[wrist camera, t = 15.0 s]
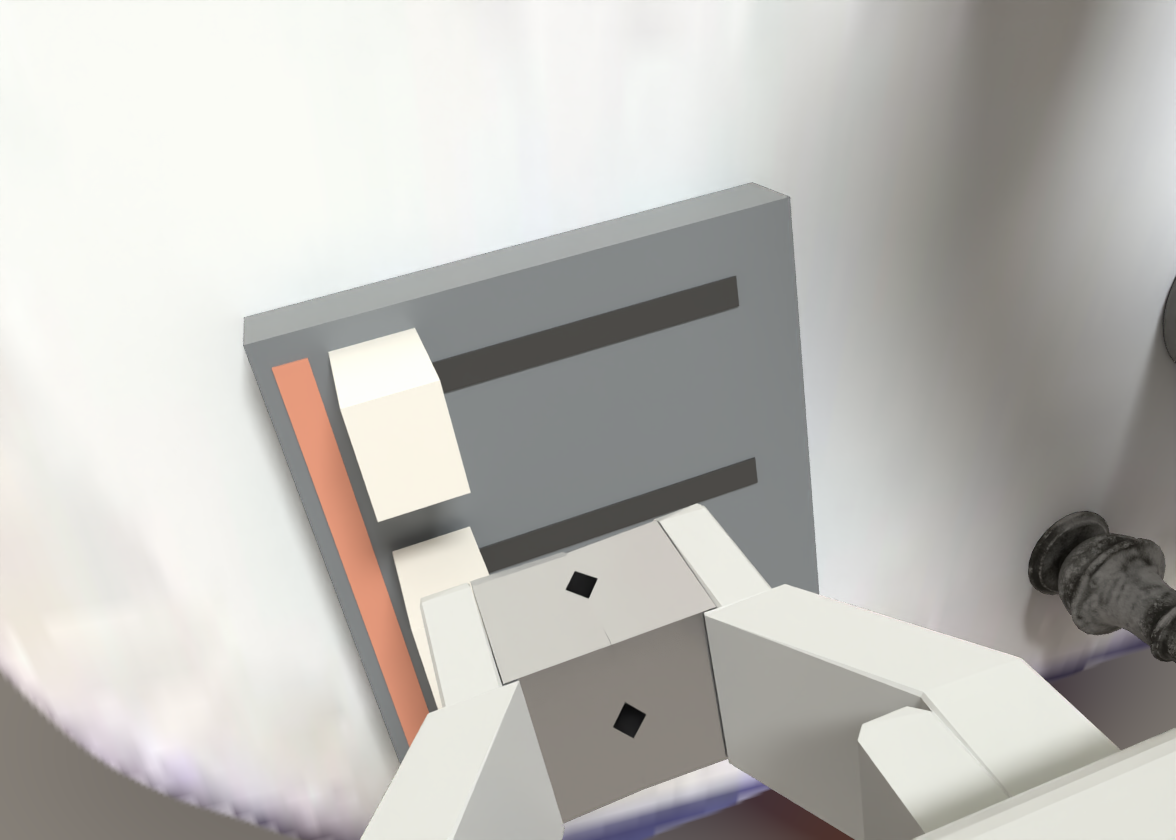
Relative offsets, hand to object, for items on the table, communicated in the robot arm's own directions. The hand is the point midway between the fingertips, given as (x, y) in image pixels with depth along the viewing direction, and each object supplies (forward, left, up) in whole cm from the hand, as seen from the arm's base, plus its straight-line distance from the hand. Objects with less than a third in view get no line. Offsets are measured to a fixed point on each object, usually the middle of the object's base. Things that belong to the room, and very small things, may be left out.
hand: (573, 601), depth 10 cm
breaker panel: (-5, +15, -26) cm, 31 cm away
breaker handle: (+1, +15, -23) cm, 27 cm away
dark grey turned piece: (-32, +29, -27) cm, 51 cm away
